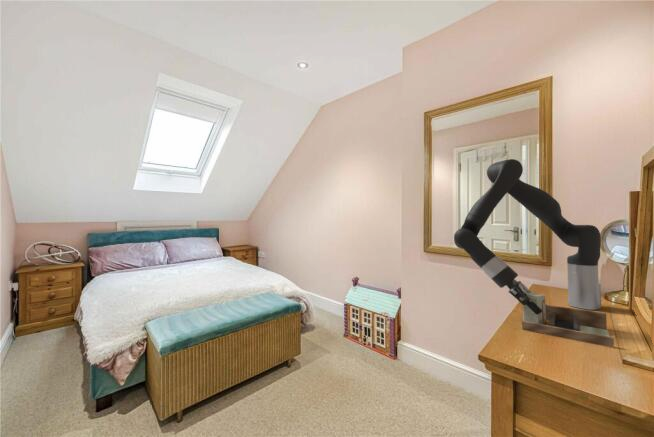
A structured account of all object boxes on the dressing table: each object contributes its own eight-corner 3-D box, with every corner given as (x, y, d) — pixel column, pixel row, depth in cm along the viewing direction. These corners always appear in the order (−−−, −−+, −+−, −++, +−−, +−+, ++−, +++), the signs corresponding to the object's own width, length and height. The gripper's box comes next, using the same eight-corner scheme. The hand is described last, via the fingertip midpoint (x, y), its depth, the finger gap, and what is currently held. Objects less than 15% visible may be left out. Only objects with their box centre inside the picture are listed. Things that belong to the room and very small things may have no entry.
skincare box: (547, 325, 92) (546, 295, 92) (538, 327, 90) (537, 296, 91) (530, 320, 97) (530, 291, 97) (522, 321, 95) (521, 292, 95)
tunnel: (522, 329, 89) (522, 313, 89) (527, 315, 102) (527, 301, 102) (613, 347, 75) (613, 329, 75) (606, 328, 88) (605, 313, 89)
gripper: (503, 267, 93) (549, 309, 85) (510, 262, 104) (551, 299, 96) (486, 281, 97) (529, 322, 89) (494, 275, 108) (533, 311, 100)
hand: (540, 310), depth 93 cm, fingers closed on skincare box, 6 cm apart
